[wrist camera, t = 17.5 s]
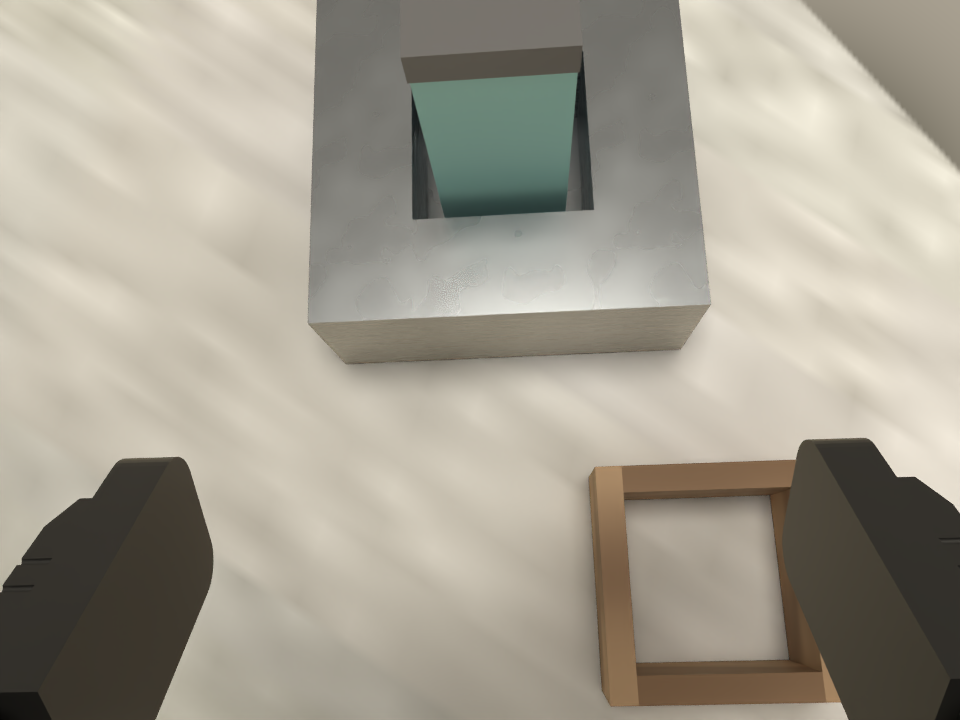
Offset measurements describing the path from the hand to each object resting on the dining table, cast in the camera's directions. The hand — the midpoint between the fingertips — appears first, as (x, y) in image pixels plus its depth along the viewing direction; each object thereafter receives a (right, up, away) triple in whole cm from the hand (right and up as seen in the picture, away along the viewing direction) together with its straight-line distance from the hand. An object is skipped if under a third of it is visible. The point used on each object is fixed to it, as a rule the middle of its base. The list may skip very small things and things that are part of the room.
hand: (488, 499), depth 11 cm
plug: (+1, +8, +18) cm, 20 cm away
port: (+1, +8, +19) cm, 21 cm away
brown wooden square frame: (+7, -5, +16) cm, 18 cm away
